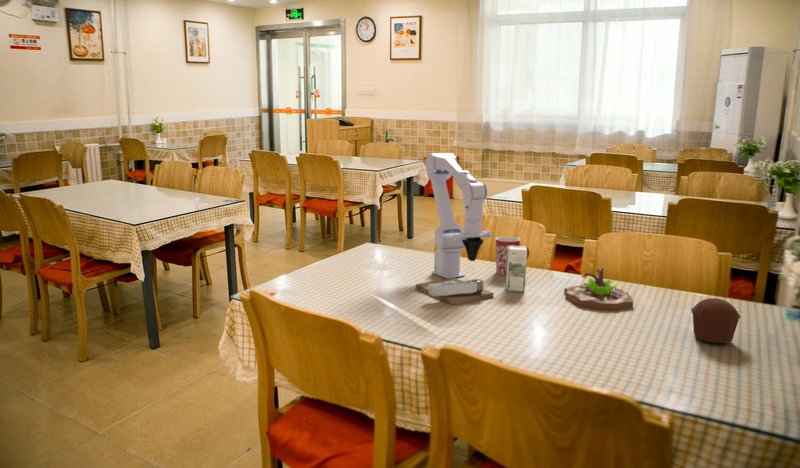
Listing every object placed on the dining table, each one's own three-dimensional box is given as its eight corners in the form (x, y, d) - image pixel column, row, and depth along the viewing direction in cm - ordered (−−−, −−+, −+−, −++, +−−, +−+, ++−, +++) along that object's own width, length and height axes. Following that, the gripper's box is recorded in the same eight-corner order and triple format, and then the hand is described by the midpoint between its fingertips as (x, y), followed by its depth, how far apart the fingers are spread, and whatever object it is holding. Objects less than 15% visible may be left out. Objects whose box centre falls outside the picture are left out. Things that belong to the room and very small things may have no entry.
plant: (577, 310, 173) (580, 274, 171) (557, 291, 192) (560, 258, 190) (643, 311, 174) (647, 274, 171) (617, 292, 193) (620, 259, 191)
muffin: (694, 326, 160) (698, 291, 158) (740, 336, 153) (745, 299, 151) (683, 338, 151) (687, 301, 149) (731, 349, 144) (736, 310, 142)
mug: (489, 275, 209) (490, 238, 207) (500, 270, 217) (502, 235, 214) (521, 281, 202) (523, 243, 200) (532, 276, 209) (534, 239, 207)
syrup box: (522, 287, 195) (525, 245, 192) (524, 292, 189) (527, 249, 186) (505, 287, 195) (507, 244, 192) (507, 292, 189) (509, 248, 187)
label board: (415, 288, 192) (416, 282, 191) (454, 282, 200) (454, 276, 200) (452, 304, 175) (452, 298, 175) (493, 297, 183) (493, 291, 183)
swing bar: (479, 288, 184) (479, 278, 184) (485, 291, 181) (485, 281, 180) (428, 293, 178) (428, 283, 177) (432, 296, 175) (433, 286, 174)
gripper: (462, 223, 183) (461, 265, 185) (498, 219, 190) (496, 260, 193) (449, 219, 189) (448, 260, 191) (484, 216, 196) (483, 256, 199)
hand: (471, 260), depth 192 cm, fingers closed
